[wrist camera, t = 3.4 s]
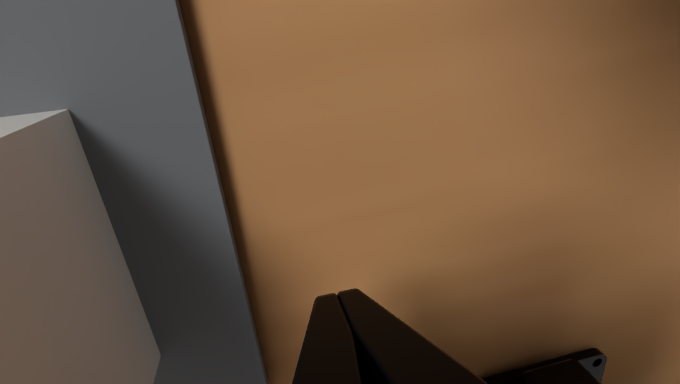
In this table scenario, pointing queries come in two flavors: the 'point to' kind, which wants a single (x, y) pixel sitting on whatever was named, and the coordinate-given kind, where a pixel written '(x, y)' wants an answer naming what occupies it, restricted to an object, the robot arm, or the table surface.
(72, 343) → the tile
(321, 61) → the table surface
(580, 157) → the table surface
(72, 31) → the mat
